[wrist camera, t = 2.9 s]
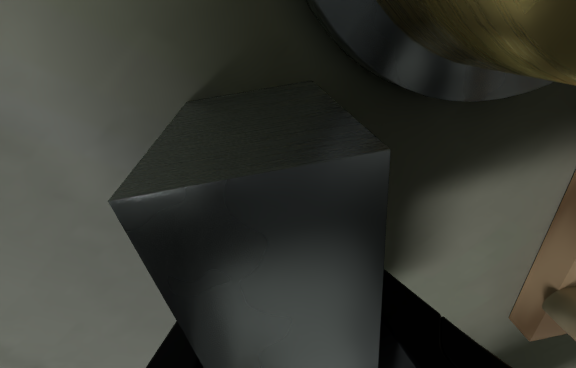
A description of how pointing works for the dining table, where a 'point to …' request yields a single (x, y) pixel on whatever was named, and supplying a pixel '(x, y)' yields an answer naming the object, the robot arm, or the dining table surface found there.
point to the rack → (552, 279)
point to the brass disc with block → (495, 33)
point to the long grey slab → (265, 228)
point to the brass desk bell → (410, 56)
